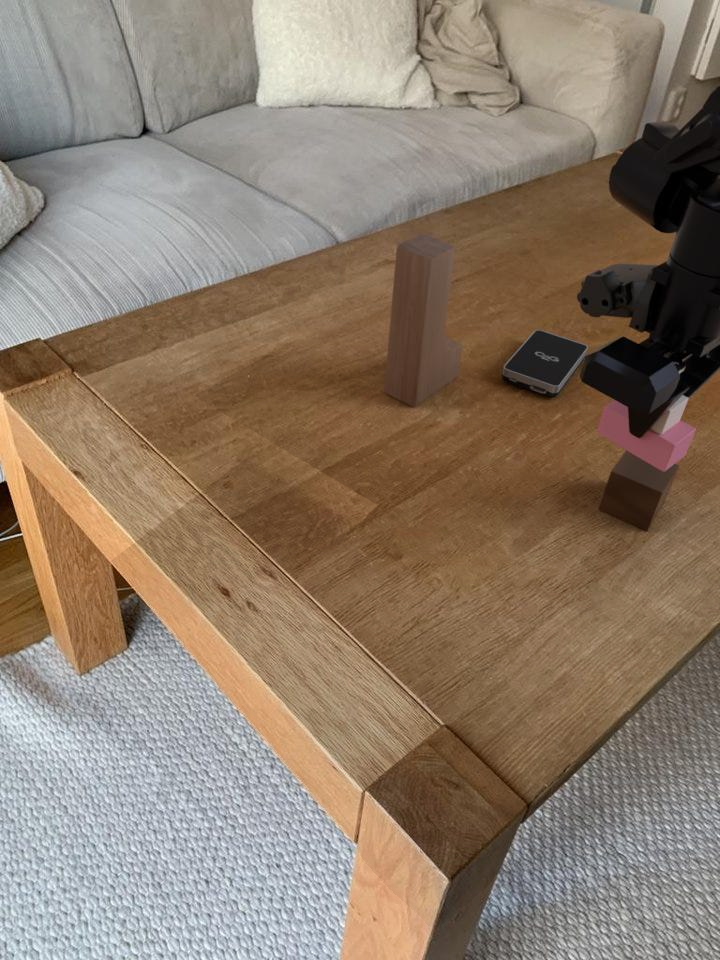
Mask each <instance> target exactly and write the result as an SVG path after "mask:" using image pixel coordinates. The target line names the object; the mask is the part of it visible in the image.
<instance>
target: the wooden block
mask: <svg viewBox="0 0 720 960" xmlns="http://www.w3.org/2000/svg"><path fill="white" fill-rule="evenodd" d="M456 248H457V247H456V245H454V244H451V243H450V242H446V241H444V240H441V239H439V238H436V237H433V236H431V235H428V234H426V233H419V234H417V235H415V236H413V237H411V238H409V239H407V240H405V241H403V242H401V243H399V244H398V245H397V246H396V252H395V263H394V264H395V265H394V272H393V273H394V275H393V286H392V287H393V288H392V296H391V297H392V298H391V310H390V319H389V321H390V322H389V332H388V341H387V352H386V353H387V356H386V357H387V358H386V365H385V377H384V387H383V388H384V390H383V392H384V393H385V394H386V395H388V396H390V397H392V398H394V399H396V400H398V401H400V402H402V403H405V404H406V405H408V406H410V407H413V408H416V407H417V406H418V405H420V404H421V403H423V402H424V401H426V400H427V399H428V398H429V397H431V396H433V395H434V394H435V393H436V392H438V391H439V390H441V389H442V388H443V387H445V386H446V385H448V384H449V383H451V382H452V381H453V380H455V379H456V378H457V377H458V376H459V373H460V366H461V360H462V352H463V344H462V343H460V342H459V341H456V340H454V339H451V338H449V337H447V336H445V330H446V323H447V315H448V307H449V300H450V293H451V286H452V279H453V272H454V265H455V258H456V257H455V256H456V252H457V251H456Z"/></svg>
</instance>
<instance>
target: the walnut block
mask: <svg viewBox="0 0 720 960" xmlns="http://www.w3.org/2000/svg"><path fill="white" fill-rule="evenodd" d="M679 469H680V465H679V464H677V463H675V464H674V465H673V466H671V467H670V468H669V469H667V470H666V471H665V472H663V471H661V470H659V469H658V468H656V467H654V466H652V465H651V464H649V463H647V462H646V461H644V460H642V459H640V458H639V457H637V456H635V455H634V454H632V453H630V452H628V451H627V450H625V451H624V452H623V454H622V456H621V457H620V458H619V459H618V461H617V462H616V464H615V465H614V467H613V468H612V469H611V471H610V473H609V476H608V480H607V482H606V486H605V488H604V491H603V495H602V497H601V500H600V504H599V505H598V511H601V512H602V513H604V514H607V515H609V516H611V517H613V518H616V519H618V520H621V521H622V522H625V523H627V524H629V525H632V526H634V527H636V528H639V529H640V530H643V531H645V532H648V531H649V529H650V528H651V526H652V525H653V523H654V522H655V520H656V518H657V516H658V515H659V513H660V512H661V510H662V508H663V507H664V505H665V503H666V500H667V498H668V495H669V493H670V491H671V488H672V486H673V482H674V480H675V478H676V476H677V474H678V471H679Z"/></svg>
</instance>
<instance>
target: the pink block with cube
mask: <svg viewBox="0 0 720 960" xmlns="http://www.w3.org/2000/svg"><path fill="white" fill-rule="evenodd" d="M689 399H690V398H688V397H686V396H684V395H682V396H681V397H680V398H679V400H678V401H677V402H676V403H675V404H674V405H673V406H672V407H671V408H670V409H669V410H668V411H667V412H666V413H665V414H664V415H663V416H662V417H661V418H660V419H659V420H658V421H657V422H656V423H655V425H654V426H653V427H652V428H651V429H650V430H649V431H648V432H647V433H646V434H645V435H644V436H643V437H641V438H637V437H635V436H634V435H632V434H630V432H629V418H628V407H627V406H625V405H623V404H621V403H620V402H618V401H616V400H614V399H613V400H612V401H611V402H609V403H607V404H606V405H604V407H603V411H602V413H601V416H600V419H599V422H598V426H597V430H596V434H597V435H599V436H601V437H603V438H604V439H606V440H608V441H609V442H611V443H613V444H615V445H616V446H618V447H619V448H621V449H623V450H625V451H626V450H627V451H628V452H630V453H632V454H634V455H635V456H637V457H639V458H640V459H642V460H644V461H646V462H647V463H649V464H651V465H652V466H654V467H656V468H658V469H659V470H661V471H663V472H665V471H666V470H667V469H669V468H670V467H671V466H673V465H674V464H677V463H678V462H680V461H681V459H683V458H684V457H685V456H686V455H687V453H688V450H689V448H690V446H691V444H692V441H693V438H694V436H695V434H696V431H697V428H696V427H694V426H692V425H690V424H688V423H686V422H685V421H683V420H681V419H682V417H683V414H684V411H685V409H686V407H687V404H688V402H689Z"/></svg>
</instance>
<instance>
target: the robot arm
mask: <svg viewBox="0 0 720 960" xmlns="http://www.w3.org/2000/svg"><path fill="white" fill-rule="evenodd" d="M608 190H609V193H610V195H611V197H612V199H613V200H614V201H615V202H616V203H618V204H619V205H621V206H622V207H624V208H625V209H626V210H627V211H629V212H630V213H632V214H633V215H635V216H636V217H638V218H639V219H640V220H642V221H643V222H645V223H646V224H647V225H649V226H650V227H652V228H653V229H655V230H656V231H658V232H660V233H662V234H674V233H675V236H674V238H673V242H672V245H671V247H670V250H669V254H668V257H667V260H666V261H664V262H662V263H660V264H658V265H657V264H638V263H635V264H634V263H617V264H616V263H615V264H612V265H609V266H607V267H605V268H602V269H597V270H595V271H593V272H590V273H589V274H587V275H586V276H585V278H584V280H583V281H581V282H580V283H581V288H580V290H579V292H578V293H577V295H576V300H577V301H578V302H579V308H580V309H581V310H582V312H583V313H585V314H587V315H588V316H590V317H592V318H600V317H602V316H603V317H614V318H622V319H623V318H625V319H630V321H629V325H628V327H629V328H631V329H632V330H635V331H637V332H638V333H645V332H646V333H648V337H647V338H646V339H644V340H642V341H640V342H639V343H638V342H636V341H634V340H632V339H630V338H628V337H626V336H620V337H617V338H615V339H613V340H610V341H608V342H607V343H605V344H603V345H601V346H600V347H598V348H596V349H595V350H593V351H591V352H589V353H587V354H586V356H585V359H584V360H583V362H582V367H581V371H580V374H579V378H580V380H581V383H583V384H585V385H587V386H588V387H590V388H592V389H594V390H596V391H598V392H600V393H601V394H603V395H605V396H607V397H608V398H609V399H610V398H611V399H613V400H616V401H618V402H620V403H621V404H623V405H625V406H627V407H628V418H629V432H630V434H632V435H634V436H635V437H637V438H641V437H643V436H644V435H645V434H646V433H647V432H648V431H649V430H650V429H651V428H652V427H653V426H654V425H655V423H656V422H657V421H658V420H659V419H660V418H661V417H662V416H663V415H664V414H665V413H666V412H667V411H668V410H669V409H670V408H671V407H672V406H673V405H674V404H675V403H676V402H677V401H678V400H679V398H680V397H681V396H682V395H684V396H686V397H688V398H689V399H690V398H691V397H692V396H693V395H695V393H696V392H697V391H699V389H701V388H702V387H703V386H704V385H705V384H706V383H707V382H708V381H709V380H710V379H712V378H713V376H714V375H716V374H717V373H718V372H719V371H720V83H718V84H717V86H716V87H715V89H714V90H713V91H711V93H710V94H709V96H708V97H707V99H706V101H705V102H704V103H703V105H702V108H701V109H700V110H698V112H697V113H695V114H694V116H693V117H692V118H690V120H688V121H687V122H686V124H685V125H683V127H681V129H679V128H678V127H677V126H676V125H675V124H673V123H671V122H669V121H666V120H665V121H654V122H653V121H652V122H646V123H645V124H644V126H643V131H642V135H641V137H640V138H638V139H637V140H635V141H633V142H632V143H631V144H629V146H627V148H625V149H624V151H623V152H622V153H621V154H620V156H619V157H618V158H617V160H616V162H615V164H613V165H612V167H611V169H610V173H609V177H608Z"/></svg>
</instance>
